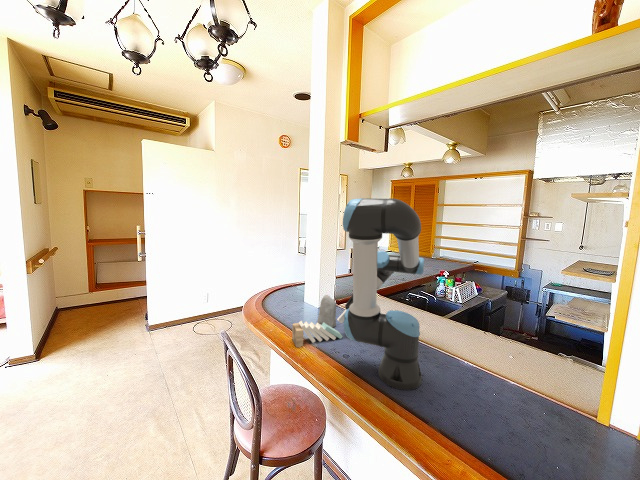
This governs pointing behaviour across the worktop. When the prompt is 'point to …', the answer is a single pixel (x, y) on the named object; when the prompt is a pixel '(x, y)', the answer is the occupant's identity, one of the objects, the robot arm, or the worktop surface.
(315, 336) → the domino
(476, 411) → the worktop surface
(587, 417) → the worktop surface
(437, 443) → the worktop surface
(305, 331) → the domino
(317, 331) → the domino
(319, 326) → the domino
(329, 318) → the decorative stone
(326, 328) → the domino
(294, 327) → the end block
